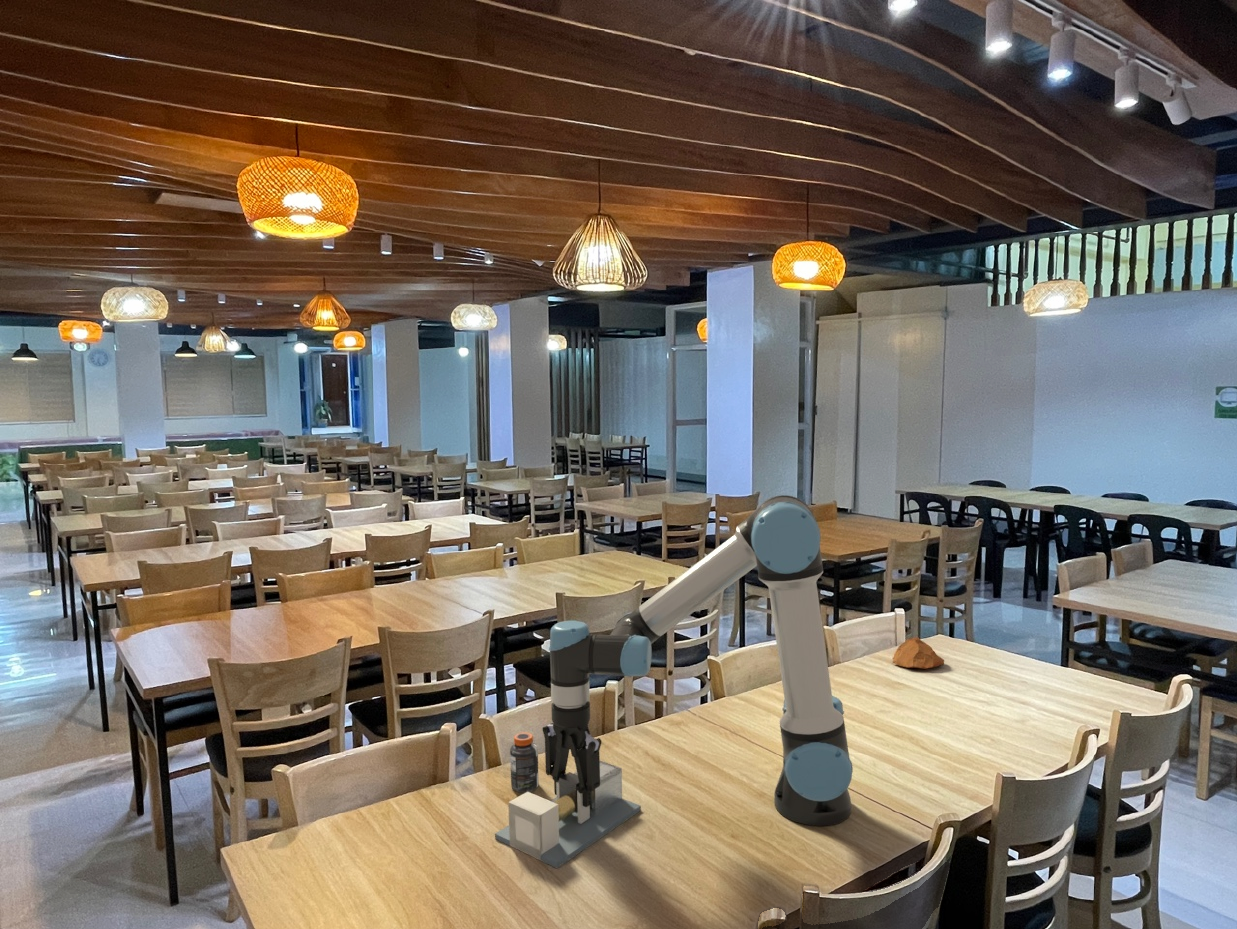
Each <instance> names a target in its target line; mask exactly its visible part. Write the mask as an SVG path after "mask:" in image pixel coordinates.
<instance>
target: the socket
mask: <svg viewBox="0 0 1237 929" xmlns="http://www.w3.org/2000/svg"><path fill="white" fill-rule="evenodd" d="M508 826H509V837H510V846H509V847H511V848H514V849H515V850H518V851H520V852H522V853H525V854H526V855H528V856H530V857H532V858H535V859H536V860H538V861H540V862H542V861H541V857H540V855H542V854H543V853H545V852H546V851H548V850H549V849H551V848H552V847H554V846H555V845H557V844H558V843H559V812H558V804H556V803H554V802H551V800H548V799H546V798H544V797H541V796H539V795H537V794H534V793H531V791H529V792H523V793H522V794H520V795H519V796H517V797H516V798H513V799H512V800H509V801H508ZM512 844H514V845H512ZM516 844H517V845H516ZM532 852H533V853H532ZM536 855H538V856H537V857H536Z"/></svg>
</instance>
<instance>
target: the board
mask: <svg viewBox="0 0 1237 929" xmlns="http://www.w3.org/2000/svg"><path fill="white" fill-rule="evenodd" d="M556 800H557V796H556V797H554V798H553V799H552V800H550V801H551V802H554V801H556ZM641 807H642V805H640V804H638V803H635V802H633V801H629V800H627V799H625V798H622V799H621V800H619V801H618V802H616V803H614V804H613V805H611V806H610V807H608V808H607V809H605V810H604V811H602V812H601V813H599V814H598V815H596V816H595V815H593V814H590V818H589V819H588V820H586V821H585V822H583V823H581V824H580V823H578V812H577V813H575V812H574V813H572V814H571V815H569V816H567V817H566V818H564V819H563V820H561V821H559V843H558V844H557V845H555V846H554V847H552V848H551V849H549V850H548V851H546V852H545V853H543V854H542V855H540V857H541V861H540V862H542V863H545V864H547V865H549V866H551V867H553V868H556V869H559V867H561V866H563V865H564V864H566V862H568V861H570V860H571V859H572V858H574V857H575V856H577V855H578V854H580V853H582V851H584V850H586V849H587V848H588V847H590V846H591V845H593V844H594V843H596V842H598V841H599V840H601V838H603V837H604V836H606V835H607V834H608V833H610V832H612V831H613V830H615V829H616V828H617V827H619V826H620V825H622V824H623V823H625V822H626V821H628V820H629V819H631V818H632V817H634V816H635V815H636V814H638V813H639V812H641V811H642V808H641ZM494 839H495V840H497V841H500V842H501V843H503V844H505V845H507V846H509V847H511V846H510V837H509V825H507V826H506V827H504V828H502V829H501V830H499V831H496V832H495V833H494ZM512 845H514V844H512ZM516 845H517V844H516ZM532 853H533V852H532ZM537 856H538V855H536V857H537Z"/></svg>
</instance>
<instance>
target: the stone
mask: <svg viewBox="0 0 1237 929" xmlns="http://www.w3.org/2000/svg"><path fill="white" fill-rule="evenodd" d="M892 660H893V661H892V664H895V665H897V666H899V667H904V668H915V669H931V668H936V667H938V666H941V665H944V664H945V659H944V658H942V657H941V656H939V655H938V654H937V653H936V651H935V650H934V649H933V648H932V647H931V646H930V645H929V644H927V643H926V642H924V641H923V640H922V639H920V638H919V637H917V636H916V637H912V638H907V639H906V641H904V642H903V643H901V644H900V645H898V647H897V649H896V650H895V652H894V654H893V657H892Z"/></svg>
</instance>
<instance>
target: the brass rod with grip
mask: <svg viewBox="0 0 1237 929" xmlns="http://www.w3.org/2000/svg"><path fill="white" fill-rule="evenodd" d="M579 789H580V784H579V779H578V775H576V774H574V773H573V772H566V774H565V775H563V776H562V777H560V778H559V791H560V798H559V799H558V800H556V801H554V803H556V804H558V812H559V821H561V820H563V819H564V818H566V817H567V816H569V815H571V814H572V813H574V812H575V813H577V812H578V806H577V790H579Z"/></svg>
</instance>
